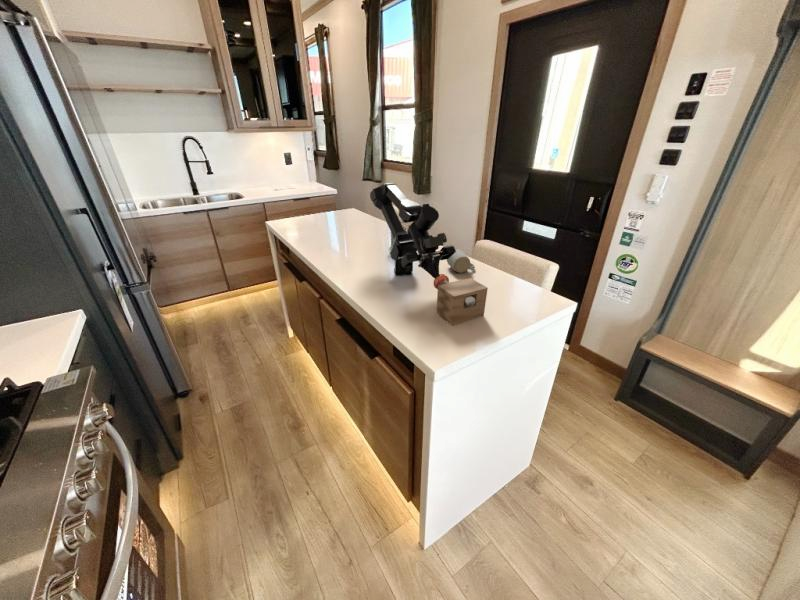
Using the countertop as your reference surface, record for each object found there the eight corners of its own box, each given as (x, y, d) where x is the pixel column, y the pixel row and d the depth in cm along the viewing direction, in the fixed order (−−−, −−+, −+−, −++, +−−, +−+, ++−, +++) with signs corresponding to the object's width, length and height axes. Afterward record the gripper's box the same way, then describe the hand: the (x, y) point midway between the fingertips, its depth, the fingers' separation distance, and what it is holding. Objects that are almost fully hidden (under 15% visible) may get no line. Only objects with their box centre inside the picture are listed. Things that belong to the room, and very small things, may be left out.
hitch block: (436, 313, 99) (437, 285, 94) (467, 304, 104) (470, 277, 99) (451, 325, 93) (454, 296, 88) (483, 315, 97) (487, 287, 93)
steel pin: (433, 290, 104) (433, 275, 102) (446, 287, 106) (447, 272, 104) (463, 312, 92) (465, 296, 89) (477, 308, 94) (479, 292, 91)
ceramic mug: (453, 274, 125) (455, 256, 121) (445, 267, 132) (447, 249, 128) (478, 272, 128) (480, 254, 124) (469, 265, 135) (471, 247, 131)
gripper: (405, 228, 98) (422, 274, 94) (455, 221, 105) (473, 263, 102) (394, 246, 107) (409, 288, 104) (440, 238, 115) (456, 277, 112)
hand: (437, 279), depth 105 cm, fingers closed
